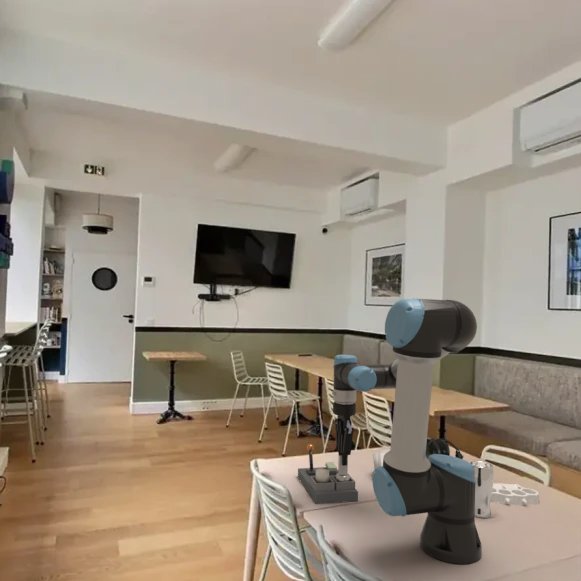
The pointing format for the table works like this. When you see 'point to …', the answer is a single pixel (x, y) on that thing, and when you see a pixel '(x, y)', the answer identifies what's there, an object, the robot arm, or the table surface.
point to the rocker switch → (331, 466)
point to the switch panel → (327, 487)
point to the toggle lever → (310, 455)
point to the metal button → (342, 478)
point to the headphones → (440, 448)
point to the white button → (322, 475)
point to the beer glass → (483, 488)
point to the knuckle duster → (513, 494)
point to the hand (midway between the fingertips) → (342, 474)
